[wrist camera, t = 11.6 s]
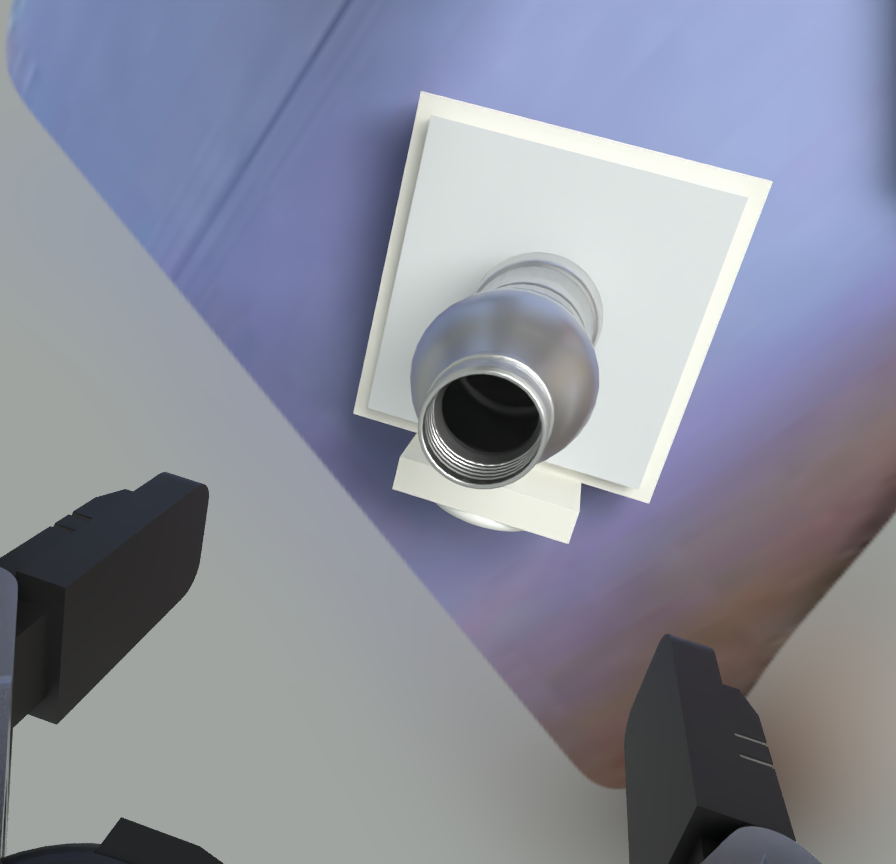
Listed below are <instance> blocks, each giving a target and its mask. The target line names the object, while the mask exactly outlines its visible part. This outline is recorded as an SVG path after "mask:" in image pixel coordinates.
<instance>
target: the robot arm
mask: <svg viewBox="0 0 896 864" xmlns="http://www.w3.org/2000/svg"><path fill="white" fill-rule="evenodd" d="M208 500H209V491H208V488H207V486H206V485H204V484H202V483H198V482H195V481H192V480H189V479H186V478H183V477H180V476H176V475H173V474H170V473H167V472H163V473H160V474H159V475H157V476H156V477H154V478H153V479H151V480H150V481H148V482H147V483H145V484H144V485H142V486H141V487H139V488H138V489H136V490H135V491H129V490H126V489H124V490H121V491H117V492H114V493H110V494H106V495H103V496H99V497H96V498H94V499H92V500H91V501H89V502H88V503H86V504H85V505H83V506H81V507H80V508H78V509H77V510H75V511H73V514H72V515H67V516H66V517H64V518H62V519H61V520H59V521H58V522H56V523H55V525H54V527H49V528H47V529H45V530H43V531H42V532H40V533H39V534H37V535H36V536H34V537H33V538H31V539H29V540H28V541H26V542H25V543H23V544H22V545H20V546H19V547H17V548H15V549H14V550H12V551H10V552H9V553H7V554H6V555H4V556H3V557H1V558H0V864H223V863H222V862H221V861H219V860H218V859H217V858H215V857H213V856H212V855H211V854H210V853H208V852H207V851H205V850H204V849H203V848H201V847H200V846H197V845H195V844H192V843H189V842H187V841H184V840H181V839H178V838H176V837H173V836H170V835H168V834H165V833H162V832H159V831H157V830H154V829H151V828H149V827H146V826H143V825H140V824H138V823H135V822H133V821H130V820H127V819H124V818H122V817H121V818H120V820H119V821H118V822H117V824H116V825H115V826H114V828H113V829H112V830H111V832H110V833H109V834H108V836H107V837H106V838H105V840H104V841H103V842H102V844H94V843H78V844H77V843H76V844H75V843H74V844H61V845H53V846H45V847H40V848H36V849H31V850H27V851H22V852H19V853H16V854H12V855H9V856H6V849H7V830H8V812H9V795H10V776H11V758H12V740H13V727H14V726H15V725H17V724H18V723H19V721H21V720H22V719H23V718H24V717H25V716H26V715H27V714H29V715H32V716H34V717H37V718H40V719H43V720H46V721H48V722H51V723H54V724H58V723H59V722H60V721H61V720H62V719H63V718H64V717H65V716H66V715H67V714H68V713H69V712H70V711H71V710H72V709H73V708H74V707H75V706H76V705H77V704H78V703H79V702H80V701H81V700H82V699H83V698H84V697H85V696H86V695H87V694H88V693H89V692H90V691H91V690H92V689H93V688H94V687H95V686H96V684H98V683H99V681H100V680H102V679H103V677H104V676H105V675H106V674H107V673H108V672H109V671H110V670H111V669H112V668H113V667H114V666H115V665H116V664H117V663H118V662H119V661H120V660H121V659H122V658H123V657H124V656H125V655H126V654H127V653H128V652H129V651H130V650H131V649H132V648H133V647H134V646H135V645H136V644H137V643H138V642H139V641H140V640H141V639H142V638H143V637H144V636H145V635H146V634H147V633H148V632H149V631H150V630H151V629H152V628H153V627H154V626H155V625H156V624H157V623H158V622H159V621H160V620H161V619H162V618H163V617H164V616H165V615H166V614H167V613H168V612H169V611H170V610H171V609H172V608H173V607H174V606H175V605H176V604H177V603H178V602H179V601H180V600H181V599H182V598H183V597H184V596H185V594H186V593H187V592H188V590H189V588H190V587H191V585H192V583H193V581H194V579H195V576H196V574H197V571H198V568H199V563H200V557H201V550H202V543H203V535H204V529H205V521H206V514H207V507H208ZM624 753H625V775H626V795H627V818H628V840H629V862H630V864H821V863H820V862H819V861H818V860H817V859H816V858H815V857H814V856H813V855H812V854H811V853H810V852H809V851H807V850H806V849H805V848H803V847H802V846H801V845H799V844H798V843H796V840H795V836H794V833H793V830H792V826H791V823H790V820H789V816H788V812H787V809H786V806H785V802H784V799H783V796H782V792H781V789H780V786H779V782H778V779H777V776H776V772H775V769H772V765H773V762H772V759H771V755H770V752H769V749H768V747H766V739H765V735H764V732H763V729H762V725H761V722H760V719H759V716H758V714H757V713H756V712H755V710H754V709H753V708H752V706H751V705H750V704H749V702H748V701H747V700H746V698H745V697H744V696H743V694H742V693H741V692H740V690H739V689H736V688H733V687H730V686H727V685H723V684H722V680H721V676H720V672H719V668H718V664H717V660H716V656H715V652H714V650H713V649H712V648H710V647H707V646H704V645H701V644H697V643H694V642H691V641H688V640H685V639H682V638H679V637H676V636H672V635H669V634H666V635H664V636H663V638H662V639H661V641H660V642H659V645H658V647H657V649H656V651H655V654H654V656H653V659H652V661H651V663H650V666H649V668H648V670H647V673H646V675H645V677H644V680H643V682H642V684H641V687H640V689H639V692H638V694H637V696H636V699H635V701H634V703H633V706H632V708H631V711H630V714H629V718H628V722H627V727H626V732H625V741H624Z"/></svg>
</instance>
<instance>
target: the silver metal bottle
mask: <svg viewBox="0 0 896 864" xmlns="http://www.w3.org/2000/svg"><path fill="white" fill-rule="evenodd" d="M602 325H603V305H602V301H601V296H600V294H599V291H598V289H597V287H596V285H595V283H594V282H593V280H592V279H591V278H590V276H589V275H588V274H587V273H586V272H585V271H584V270H583V269H582V268H581V267H580V266H578V265H577V264H576V263H574V262H572V261H570V260H569V259H567V258H565V257H562V256H559V255H556V254H553V253H544V252H532V253H523V254H520V255H516V256H513V257H510V258H508V259H506V260H504V261H502V262H500V263H499V264H498V265H496V266H495V267H494V268H492V269H491V270H490V271H489V272H488V273H487V274H486V275H485V276H484V277H483V279H482V280H481V281H480V282H479V284H478V286H477V288H476V289H475V291H474V293H473V295H471V296H469V297H467V298H465V299H462V300H460V301H458V302H456V303H454V304H452V305H451V306H450V307H448V308H447V309H446V310H445V311H443V312H442V313H441V314H439V315H438V316H437V317H436V318H435V319H434V321H433V322H432V323H431V324H430V325H429V326H428V327H427V329H426V330H425V332H424V334H423V335H422V337H421V339H420V341H419V342H418V344H417V347H416V350H415V353H414V356H413V359H412V364H411V373H410V385H411V396H412V403H413V406H414V409H415V412H416V416H417V418H418V438H419V442H420V445H421V448H422V451H423V453H424V455H425V456H426V458H427V460H428V461H429V463H430V464H431V465H432V466H433V468H434V469H435V470H436V471H437V472H439V473H440V474H441V475H442V476H443V477H445V478H447V479H448V480H450V481H452V482H454V483H456V484H458V485H461V486H464V487H467V488H473V489H495V488H500V487H504V486H507V485H509V484H512V483H514V482H516V481H517V480H519V479H521V478H522V477H524V476H525V475H526V474H527V473H528V472H529V471H530V470H531V469H532V468H534V466H535V465H536V464H538V463H541V462H543V461H545V460H547V459H549V458H550V457H552V456H554V455H555V454H557V453H558V452H560V451H561V450H563V449H565V448H566V447H567V446H568V445H569V444H570V443H571V442H572V441H573V440H574V439H575V438H576V437H577V436H578V435H579V434H580V432H581V431H582V430H583V428H584V427H585V425H586V424H587V423H588V421H589V419H590V417H591V414H592V412H593V410H594V407H595V405H596V400H597V396H598V391H599V367H598V363H597V358H596V354H595V350H594V348H595V346H596V344H597V342H598V339H599V337H600V334H601V330H602Z"/></svg>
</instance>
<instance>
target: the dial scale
mask: <svg viewBox="0 0 896 864" xmlns="http://www.w3.org/2000/svg"><path fill="white" fill-rule="evenodd" d="M772 182H773V181H769V180H765V179H761V178H757V177H754V176H750V175H746V174H742V173H738V172H734V171H730V170H726V169H722V168H719V167H715V166H711V165H707V164H703V163H699V162H695V161H691V160H687V159H684V158H680V157H676V156H672V155H668V154H664V153H660V152H656V151H652V150H649V149H645V148H641V147H637V146H633V145H629V144H625V143H621V142H618V141H614V140H610V139H606V138H602V137H598V136H594V135H590V134H586V133H583V132H579V131H575V130H571V129H567V128H563V127H559V126H555V125H551V124H548V123H544V122H540V121H536V120H532V119H528V118H524V117H520V116H517V115H513V114H509V113H505V112H501V111H497V110H493V109H489V108H485V107H482V106H478V105H474V104H470V103H466V102H462V101H458V100H454V99H450V98H447V97H443V96H439V95H435V94H431V93H427V92H423V91H421V94H420V98H419V103H418V108H417V113H416V117H415V122H414V127H413V132H412V137H411V141H410V146H409V151H408V156H407V160H406V165H405V170H404V175H403V179H402V184H401V189H400V194H399V198H398V203H397V208H396V213H395V217H394V222H393V227H392V232H391V236H390V241H389V246H388V251H387V255H386V260H385V265H384V270H383V274H382V279H381V284H380V289H379V293H378V298H377V303H376V308H375V312H374V317H373V322H372V327H371V331H370V336H369V341H368V346H367V350H366V355H365V360H364V365H363V369H362V374H361V379H360V384H359V388H358V393H357V398H356V403H355V408H354V412H353V414H356V415H360V416H363V417H366V418H369V419H373V420H376V421H379V422H383V423H386V424H389V425H392V426H396V427H399V428H402V429H406V430H409V431H412V432H415V433H417V434H416V435H415V436H414V438H413V439H412V441H411V442H410V443H409V445H408V446H407V448H406V449H405V450H404V452H403V453H402V455H401V456H400V459H399V463H398V467H397V471H396V476H395V480H394V484H393V488H392V489H394V490H397V491H400V492H404V493H407V494H410V495H413V496H416V497H420V498H423V499H426V500H429V501H432V502H435V503H436V504H437V505H438V506H440V507H441V508H442V509H443V510H445V511H446V512H448V513H449V514H451V515H453V516H455V517H457V518H459V519H461V520H463V521H465V522H468V523H470V524H473V525H476V526H480V527H483V528H487V529H492V530H498V531H524V530H525V531H528V532H532V533H535V534H538V535H541V536H544V537H548V538H551V539H554V540H557V541H560V542H564V543H567V544H568V543H569V541H570V538H571V535H572V532H573V529H574V526H575V523H576V520H577V518H578V515H579V512H580V495H581V483H583V484H587V485H590V486H593V487H597V488H600V489H603V490H606V491H610V492H613V493H616V494H620V495H623V496H626V497H629V498H633V499H636V500H639V501H643V502H646V503H649V502H650V499H651V497H652V494H653V492H654V489H655V486H656V484H657V481H658V479H659V476H660V473H661V471H662V468H663V466H664V463H665V460H666V458H667V455H668V453H669V450H670V447H671V445H672V442H673V440H674V437H675V434H676V432H677V429H678V427H679V424H680V421H681V419H682V416H683V414H684V411H685V408H686V406H687V403H688V401H689V398H690V395H691V393H692V390H693V388H694V385H695V382H696V380H697V377H698V375H699V372H700V369H701V367H702V364H703V362H704V359H705V356H706V354H707V351H708V349H709V346H710V343H711V341H712V338H713V336H714V333H715V330H716V328H717V325H718V323H719V320H720V317H721V315H722V312H723V310H724V307H725V304H726V302H727V299H728V297H729V294H730V291H731V289H732V286H733V284H734V281H735V278H736V276H737V273H738V271H739V268H740V265H741V263H742V260H743V258H744V255H745V253H746V250H747V247H748V245H749V242H750V240H751V237H752V234H753V232H754V229H755V227H756V224H757V221H758V219H759V216H760V214H761V211H762V208H763V206H764V203H765V201H766V198H767V195H768V193H769V190H770V188H771V185H772ZM532 252H544V253H553V254H556V255H559V256H562V257H565V258H567V259H569V260H570V261H572V262H574V263H576V264H577V265H578V266H580V267H581V268H582V269H583V270H584V271H585V272H586V273H587V274H588V275H589V276H590V278H591V279H592V280H593V282H594V283H595V285H596V287H597V289H598V291H599V294H600V296H601V301H602V305H603V325H602V330H601V334H600V337H599V339H598V342H597V344H596V346H595V348H594V350H595V354H596V358H597V363H598V367H599V391H598V396H597V400H596V405H595V407H594V410H593V412H592V414H591V417H590V419H589V421H588V423H587V424H586V425H585V427H584V428H583V430H582V431H581V432H580V434H579V435H578V436H577V437H576V438H575V439H574V440H573V441H572V442H571V443H570V444H569V445H568V446H567V447H566V448H565V449H563V450H561V451H560V452H558V453H557V454H555V455H554V456H552V457H550V458H549V459H547V460H545V461H543V462H541V463H538V464H536V465H535V466H534V468H532V469H531V470H530V471H529V472H528V473H527V474H526V475H525V476H524V477H522V478H521V479H519V480H517V481H516V482H514V483H512V484H509V485H507V486H504V487H500V488H495V489H473V488H467V487H464V486H461V485H458V484H456V483H454V482H452V481H450V480H448V479H447V478H445V477H443V476H442V475H441V474H440V473H439V472H437V471H436V470H435V469H434V468H433V466H432V465H431V464H430V463H429V461H428V460H427V458H426V456H425V455H424V453H423V451H422V448H421V445H420V442H419V438H418V418H417V416H416V412H415V409H414V406H413V403H412V396H411V385H410V373H411V364H412V359H413V356H414V353H415V350H416V347H417V344H418V342H419V341H420V339H421V337H422V335H423V334H424V332H425V330H426V329H427V327H428V326H429V325H430V324H431V323H432V322H433V321H434V319H435V318H436V317H437V316H438V315H439V314H441V313H442V312H443V311H445V310H446V309H447V308H448V307H450V306H451V305H452V304H454V303H456V302H458V301H460V300H462V299H465V298H467V297H469V296H471V295H473V293H474V291H475V289H476V288H477V286H478V284H479V282H480V281H481V280H482V279H483V277H484V276H485V275H486V274H487V273H488V272H489V271H490V270H491V269H492V268H494V267H495V266H496V265H498V264H499V263H500V262H502V261H504V260H506V259H508V258H510V257H513V256H516V255H520V254H523V253H532Z"/></svg>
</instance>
